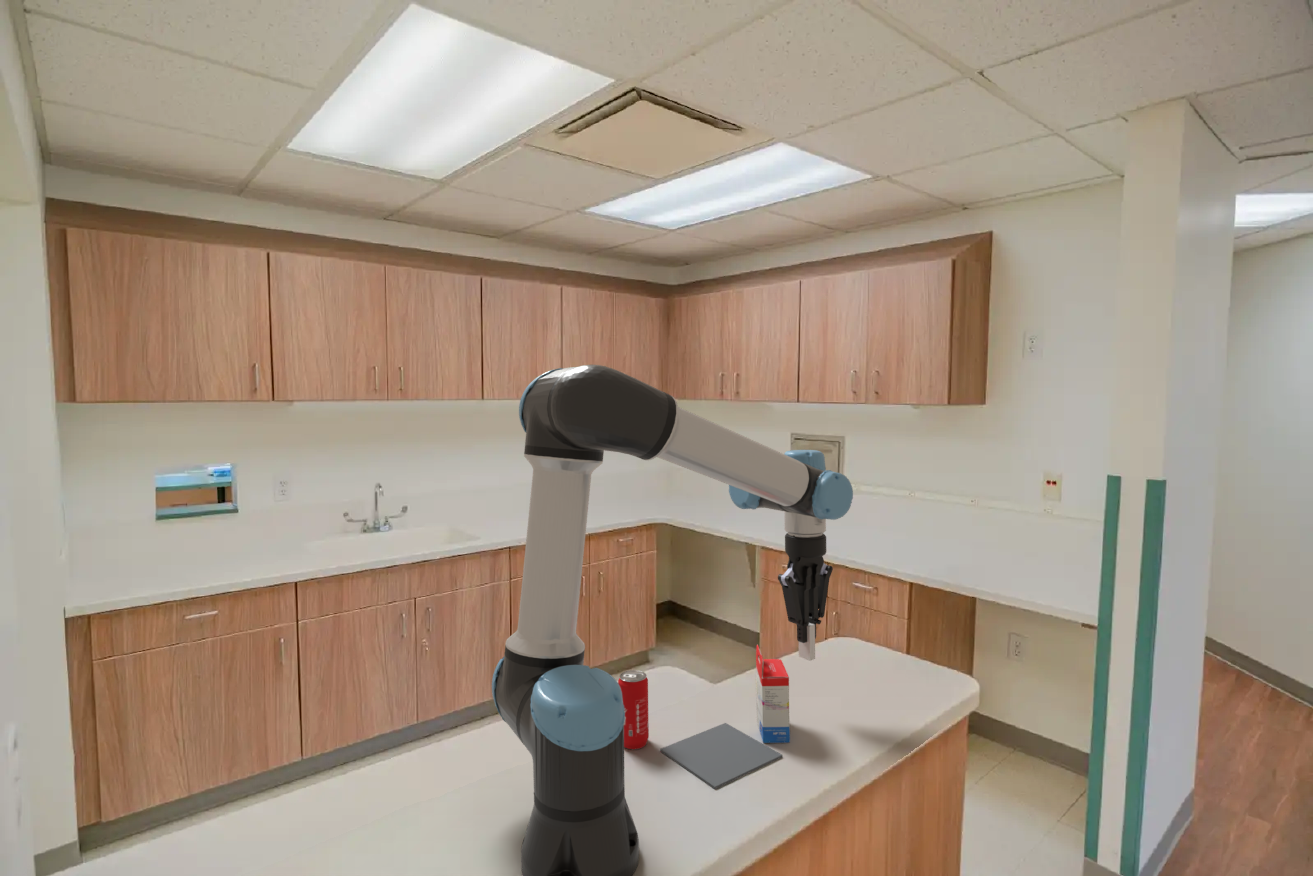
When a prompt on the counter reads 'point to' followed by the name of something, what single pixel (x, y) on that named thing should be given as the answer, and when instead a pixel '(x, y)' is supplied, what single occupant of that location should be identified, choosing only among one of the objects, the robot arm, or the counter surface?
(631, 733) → the beverage can
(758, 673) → the ink box
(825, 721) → the counter surface
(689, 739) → the mat
